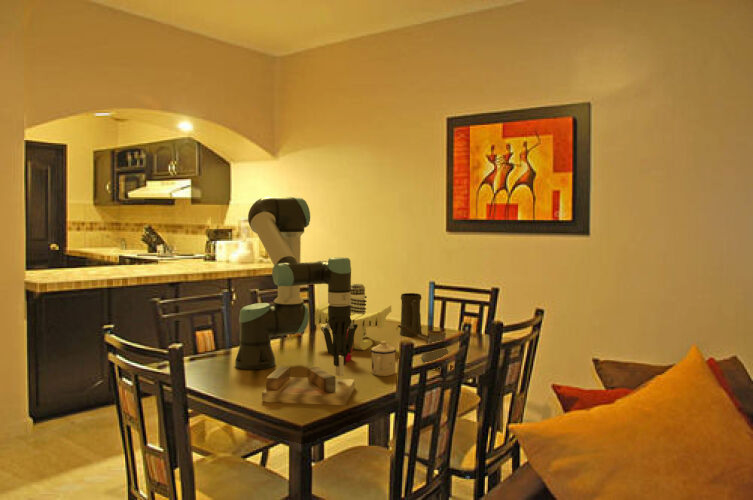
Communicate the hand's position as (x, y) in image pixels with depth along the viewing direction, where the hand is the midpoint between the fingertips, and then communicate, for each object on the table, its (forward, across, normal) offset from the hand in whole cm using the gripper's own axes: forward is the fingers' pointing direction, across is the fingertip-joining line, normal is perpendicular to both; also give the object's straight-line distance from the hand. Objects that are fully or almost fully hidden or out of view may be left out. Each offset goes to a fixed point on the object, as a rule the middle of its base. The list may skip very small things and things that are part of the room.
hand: (339, 375), depth 196 cm
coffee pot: (+5, +44, +11) cm, 45 cm away
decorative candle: (+5, +50, +70) cm, 86 cm away
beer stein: (+5, +74, +58) cm, 94 cm away
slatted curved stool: (+5, +38, +52) cm, 65 cm away
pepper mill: (+5, +22, +34) cm, 41 cm away
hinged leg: (+2, -8, -3) cm, 9 cm away
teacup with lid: (+5, +23, +8) cm, 25 cm away
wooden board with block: (+5, -11, 0) cm, 12 cm away
